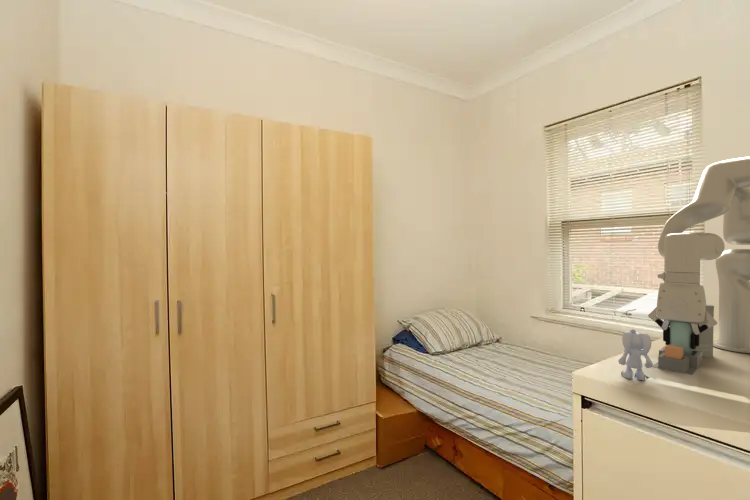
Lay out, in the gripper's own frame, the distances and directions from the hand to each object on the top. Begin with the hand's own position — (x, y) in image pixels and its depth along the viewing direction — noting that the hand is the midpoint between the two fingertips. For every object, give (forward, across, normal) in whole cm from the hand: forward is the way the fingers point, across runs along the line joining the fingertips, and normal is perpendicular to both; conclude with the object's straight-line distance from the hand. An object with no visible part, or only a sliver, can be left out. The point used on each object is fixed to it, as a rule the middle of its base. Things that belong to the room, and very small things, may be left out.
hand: (680, 345), depth 102 cm
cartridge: (+4, 0, 0) cm, 4 cm away
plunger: (+4, 0, -8) cm, 9 cm away
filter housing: (+5, 0, -4) cm, 7 cm away
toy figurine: (+6, -6, -21) cm, 23 cm away
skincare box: (+6, 0, +13) cm, 15 cm away
